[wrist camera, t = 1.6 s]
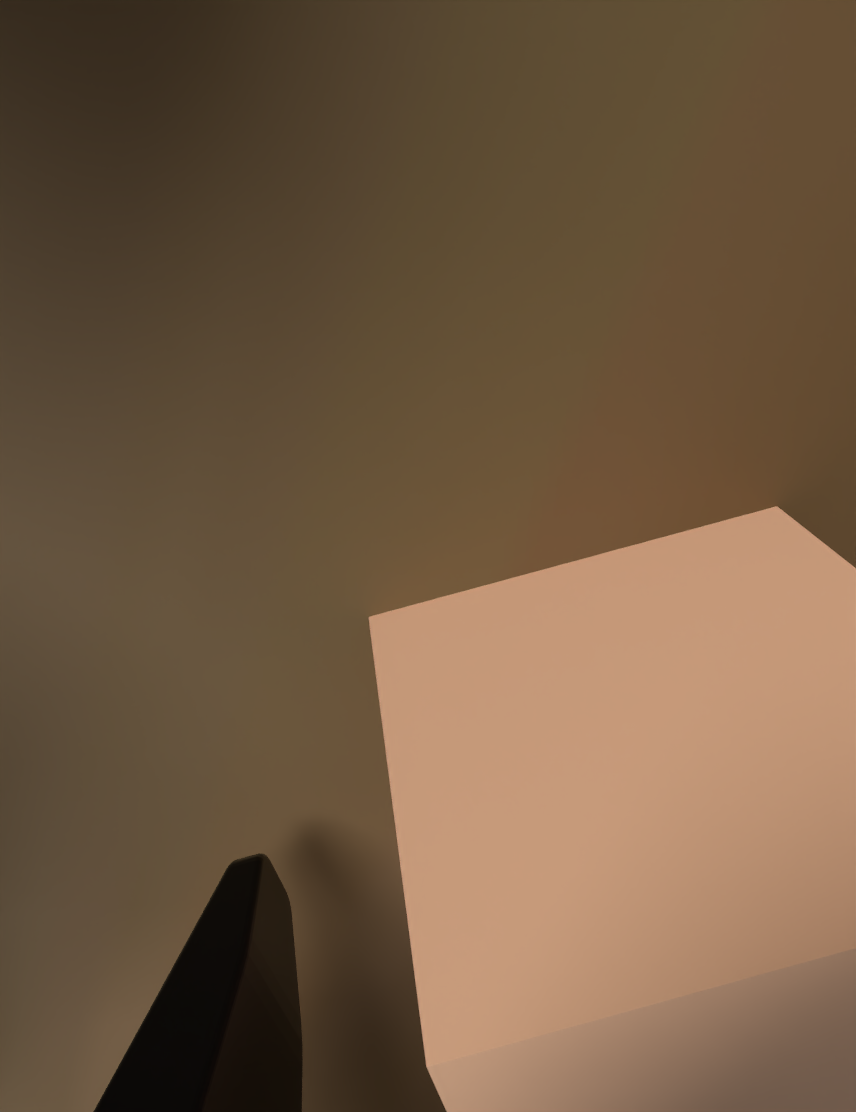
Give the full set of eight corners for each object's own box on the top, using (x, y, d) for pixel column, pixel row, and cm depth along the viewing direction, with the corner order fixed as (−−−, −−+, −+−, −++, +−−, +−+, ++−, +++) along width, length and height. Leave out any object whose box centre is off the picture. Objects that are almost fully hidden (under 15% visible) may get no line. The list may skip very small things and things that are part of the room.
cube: (773, 503, 9) (1209, 848, 5) (769, 788, 11) (1049, 1182, 7) (368, 612, 9) (426, 1067, 5) (453, 874, 11) (543, 1324, 7)
